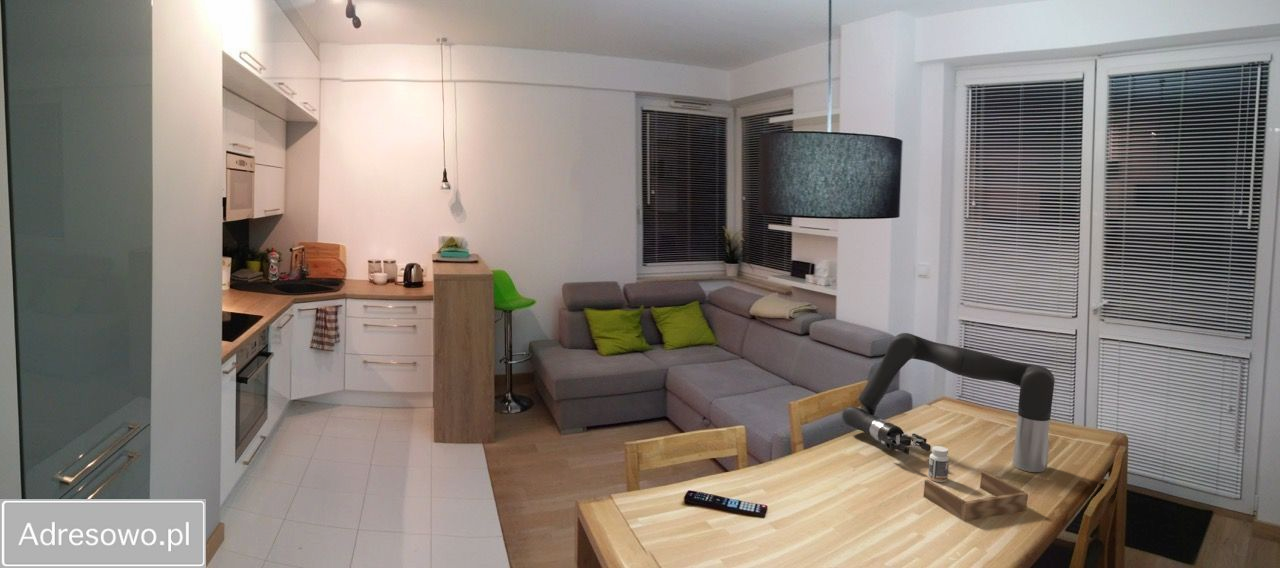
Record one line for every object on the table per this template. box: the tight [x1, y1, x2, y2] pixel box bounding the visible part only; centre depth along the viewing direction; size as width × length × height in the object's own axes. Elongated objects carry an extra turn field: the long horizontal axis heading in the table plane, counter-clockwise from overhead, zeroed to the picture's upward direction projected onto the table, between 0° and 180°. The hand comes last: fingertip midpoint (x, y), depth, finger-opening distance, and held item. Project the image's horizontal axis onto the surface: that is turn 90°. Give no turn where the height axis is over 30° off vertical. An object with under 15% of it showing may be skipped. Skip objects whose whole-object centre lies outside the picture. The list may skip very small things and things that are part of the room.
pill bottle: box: [927, 445, 950, 483], centre depth 225 cm, size 6×6×10 cm
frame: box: [923, 471, 1029, 522], centre depth 209 cm, size 22×16×5 cm
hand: (919, 450), depth 234 cm, fingers open, 8 cm apart
